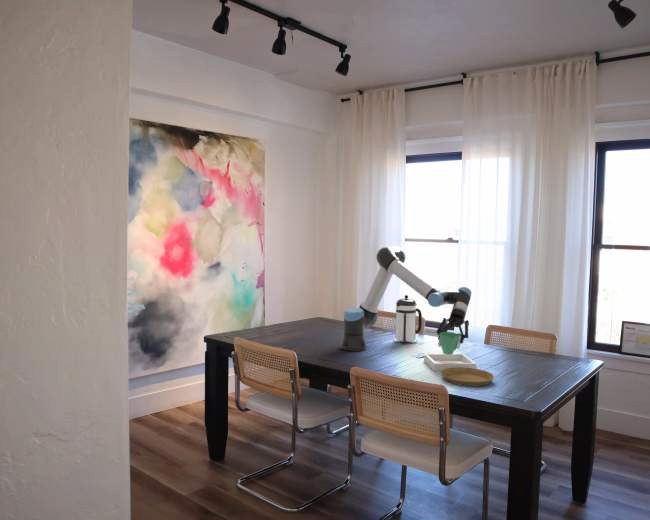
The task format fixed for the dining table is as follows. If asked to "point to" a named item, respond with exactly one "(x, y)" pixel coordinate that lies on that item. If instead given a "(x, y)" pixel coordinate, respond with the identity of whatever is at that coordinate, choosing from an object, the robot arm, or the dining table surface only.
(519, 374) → the dining table surface
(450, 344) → the mug
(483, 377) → the plant saucer
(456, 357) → the tray
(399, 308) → the coffee press
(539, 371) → the dining table surface
